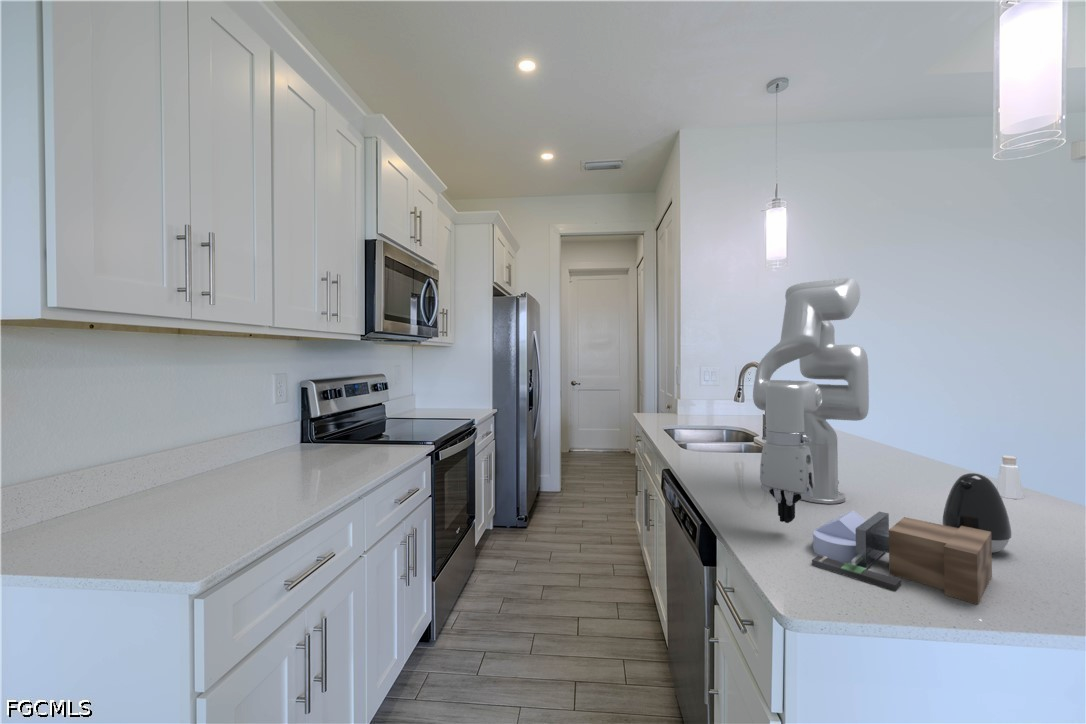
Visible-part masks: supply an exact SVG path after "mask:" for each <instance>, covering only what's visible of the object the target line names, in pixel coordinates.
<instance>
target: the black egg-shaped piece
mask: <svg viewBox="0 0 1086 724" xmlns="http://www.w3.org/2000/svg"><path fill="white" fill-rule="evenodd" d="M1009 517H1010V516H1009V514H1008V511H1007V508H1006V506H1005V502H1004V500H1003V497H1001V496H1000V494H999V492H998V490H997V486H996V485H995V484H994V483H993V481H991V480H990V478H988V477H986V476H985V475H982V474H980V473H974V472H971V473H970V472H969V473H965V474H962V475H961V476H959V477H958V478H957V479H956V481H955V482H953V485H952V487H951V489H950V491H949V494H948V497H947V499H946V502H945V505H944V508H943V514H942V525H945V526H950V527H955V528H960V527H961V526H965V527H970V528H975V529H980V530H985V531H990V532H991V539H992V554H994V553H997V552H1000V551H1003V550H1004V549H1005V548H1006V547H1007V545H1008V543H1009V541H1010V539H1011V538H1012V534H1013V533H1012V526H1011V522H1010V518H1009Z"/></svg>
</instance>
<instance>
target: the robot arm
mask: <svg viewBox="0 0 1086 724" xmlns="http://www.w3.org/2000/svg"><path fill="white" fill-rule="evenodd" d="M784 297H785V306H784V314H783V320H782V326H781V327H782V328H781V333H780V341H779V342H778V343H777V344H776V345H774V346H773V347H772V348H770V350H769V351H767V352H766V354H765V355H764V356H763V358H761V360H760V361H759V363H758V365H757V368H756V370H755V375H754V382H753V388H752V389H753V390H752V400H753V404H754V406H755V408H757V409H759V410H761V411H764V412H765V434H766V435H765V437H766V439H765V440H766V441H765V442H764V443H763V445H762V450H761V454H760V455H761V456H760V467H759V468H760V469H759V479H760V483H761V484H760V489H761V490H762V491H765V492H767V493H770V495H771V496H772V497H773V498H774V501H775V502H776V503H777V515H778V516H779V522H781V523H783V522H784V523H785V524H789V523H791V522H793V521H794V519H795V518H796V504H797V502H799V501H806V502H810V503H815V504H816V503H817V504H825V505H826V504H827V505H829V504H831V505H834V504H841V503H844V502H845V501H846V495H844V493H842V492H839V484H840V481H839V466H838V465H839V464H838V463H839V462H838V461H839V460H838V458H839V457H838V455H839V454H838V435H837V432H836V431H835V429H834V427H832V426H831V424H830V423H829V422H828V421H827V420H835V421H836V420H837V421H839V420H840V421H856V422H857V421H862V420H865V419H866V418H867V416H868V414H869V408H870V404H869V403H870V393H869V392H870V390H869V389H870V388H869V385H870V384H869V359H868V354H867V352H866V350H865V348H863V347H862V346H860V345H858V344H836V343H835V342H836V341H835V326H834V325H833V324H832V321H841V320H842V321H844V320H847V319H849V318H850V317H852V315H853V313H854V312H855V310H856V308H857V307H858V305H859V302H860V299H861V289H860V285H859V283H858V281H857V280H855V279H854V278H852V277H845V278H844V277H843V278H835V279H834V278H833V279H825V280H815V281H807V282H805V281H804V282H802V283H801V282H800V283H796V284H793V285H791V286H788V288H787V289H786V290H785V296H784ZM797 360H798V361H799V372H800V374H801V375H802V376H803V377H804V378H807V379H810V380H830V381H831V380H832V381H835V380H837V381H838V380H840V381H841V380H842V381H846V382H847V384H829V383H827V384H826V383H822V384H821V383H815V382H813V381H809V380H791V379H790V380H789V379H788V380H787V379H785V380H783V379H771V378H772V376H773V374H774V373H775V372H776V371H778V369H780V368H781V367H783V366H785V365H787V364H789V363H791V362H794V361H797ZM786 492H787V495H786Z"/></svg>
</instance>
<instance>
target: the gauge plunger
mask: <svg viewBox="0 0 1086 724" xmlns="http://www.w3.org/2000/svg"><path fill="white" fill-rule="evenodd" d="M889 514H890V513H888V512H883V511H878V512H876V513H875V514H873V515H872V516H870V518H868V519H867V520H865V522H864V523H862V524H861V525H860V526H858V527H857V528H856V557H855V558H853V559H852V560H851V563H850V564H852V565H855V566H856V565H857V566H860V567H864V568H866V569H867V570H868V568H869V567H870V566H871V565H872V564H873V563H874V562H875V561H876V560H877V559H879V558H880V557H881V556H882V555H883V554H884V553H887V554H889V529H890V518H889Z"/></svg>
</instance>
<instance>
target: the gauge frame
mask: <svg viewBox="0 0 1086 724" xmlns="http://www.w3.org/2000/svg"><path fill="white" fill-rule="evenodd" d="M888 562H889V563H888V569H889V570H888V571H889V572H888V573H889V575H886V574H883V573H879V572H877V571H872V570H869V569H868V568H867V569H866V568H864V567H860V566H857V565H856V566H855V565H852V564H851V563H847V562H840V561H836V560H833V559H829V558H828V557H826V556H824V557H823V556H821V555H819V554H817V555H816V556H815V557H814V558H812V559H811V566H814V567H818V568H821V569H824V570H827V571H831V572H834V573H837V574H840V575H843V576H845V577H850V578H853V579H856V580H859V581H863V582H865V583H869V584H871V585H875V586H879V587H882V588H885V589H887V590H888V589H889V590H891V591H894V592H896V591H898V589H899V588H900V587H901V586H902V580H901V579H900V578H902V579H906V580H909V581H913V582H915V583H920V584H923V585H926V586H930V587H933V588H937V589H940V590H944V595H945V596H947V595H948V596H949V597H951V596H952V598H954V597H955V598H954V599H957V598H958V600H961V599H962V600H961V601H964V600H965V601H964V602H967V601H968V602H969V603H971V602H972V603H971V604H974V603H976V604H975V605H979V603H980V602H981V599H982V597H983V596H984V593H985V592H984V591H986V590H985V589H987V588H986V587H988V586H987V585H989V584H988V583H990V582H989V581H991V580H992V578H993V563H992V562H993V553H992V539H991V532H990V531H985V530H980V529H975V528H970V527H965V526H961V527H960V528H955V527H950V526H945V525H943V524H940V523H935V522H930V521H926V520H920V519H915V518H911V517H902V518H901V519H900V520H899V521H898V522H896V523H895V524H894V525H893V526H891V528H890V527H889V553H888ZM890 575H892V576H890ZM894 576H895V577H894ZM897 577H900V578H897ZM991 577H992V578H991ZM990 579H991V580H990Z"/></svg>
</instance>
